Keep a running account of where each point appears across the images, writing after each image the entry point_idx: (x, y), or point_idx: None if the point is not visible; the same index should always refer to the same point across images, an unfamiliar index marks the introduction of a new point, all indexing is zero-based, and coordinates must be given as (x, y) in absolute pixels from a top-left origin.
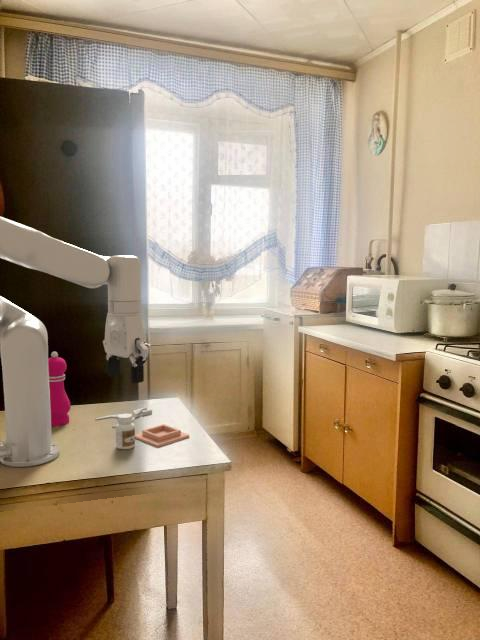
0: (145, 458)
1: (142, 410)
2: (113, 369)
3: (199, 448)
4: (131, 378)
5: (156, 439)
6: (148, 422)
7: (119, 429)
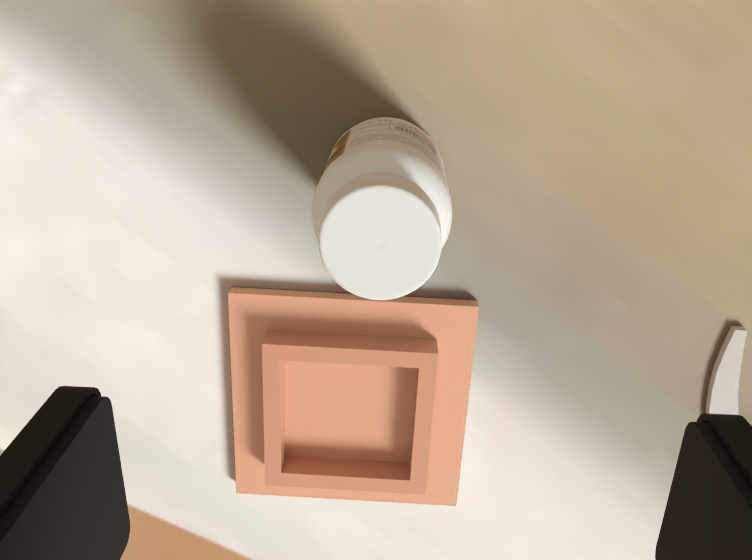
0: (130, 132)
1: None
2: (716, 549)
3: None
4: (53, 424)
5: (289, 335)
6: (612, 501)
7: (361, 147)
